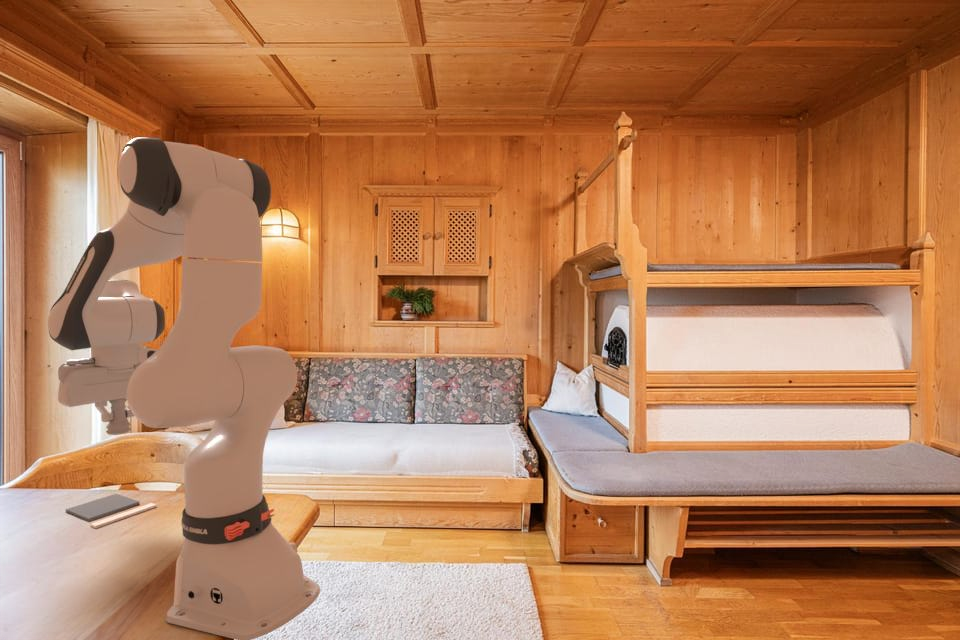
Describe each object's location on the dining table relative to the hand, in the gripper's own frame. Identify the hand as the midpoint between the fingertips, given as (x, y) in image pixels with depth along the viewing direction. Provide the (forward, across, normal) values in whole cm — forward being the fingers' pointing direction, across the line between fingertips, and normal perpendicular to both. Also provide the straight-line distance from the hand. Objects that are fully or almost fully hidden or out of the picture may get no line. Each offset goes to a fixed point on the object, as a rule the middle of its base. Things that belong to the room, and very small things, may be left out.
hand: (118, 419), depth 109 cm
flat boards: (+21, 0, +4) cm, 22 cm away
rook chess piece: (+3, 0, 0) cm, 3 cm away
